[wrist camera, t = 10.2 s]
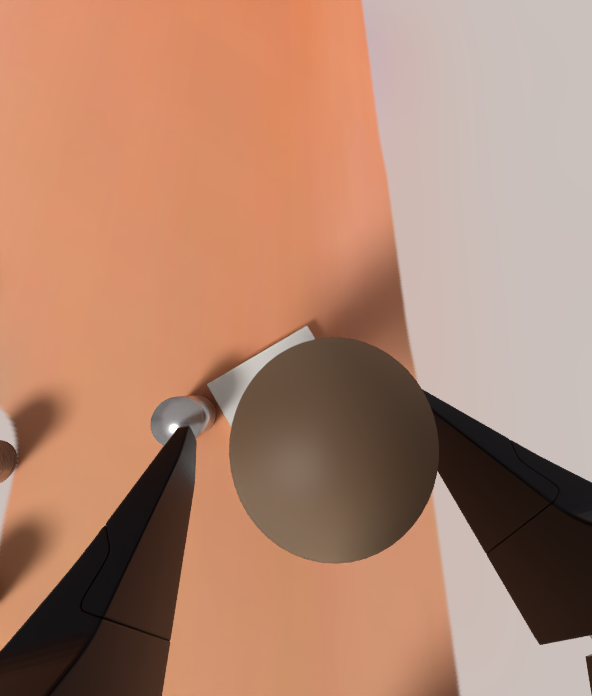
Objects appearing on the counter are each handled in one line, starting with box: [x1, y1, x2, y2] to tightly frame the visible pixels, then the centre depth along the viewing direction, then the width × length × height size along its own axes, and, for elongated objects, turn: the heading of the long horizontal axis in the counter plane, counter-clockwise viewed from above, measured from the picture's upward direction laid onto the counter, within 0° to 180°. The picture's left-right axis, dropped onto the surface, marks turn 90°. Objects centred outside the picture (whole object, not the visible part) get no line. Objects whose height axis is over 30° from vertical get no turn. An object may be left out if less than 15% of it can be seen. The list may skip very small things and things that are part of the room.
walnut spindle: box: [229, 338, 439, 563], centre depth 12 cm, size 4×4×14 cm
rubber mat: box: [207, 326, 315, 427], centre depth 19 cm, size 9×9×1 cm
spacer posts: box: [0, 395, 216, 483], centre depth 15 cm, size 16×20×4 cm
